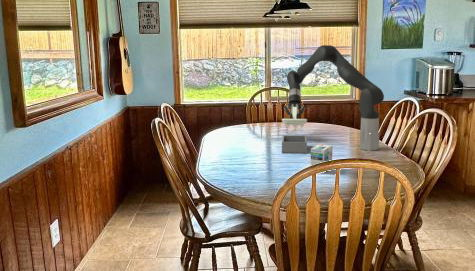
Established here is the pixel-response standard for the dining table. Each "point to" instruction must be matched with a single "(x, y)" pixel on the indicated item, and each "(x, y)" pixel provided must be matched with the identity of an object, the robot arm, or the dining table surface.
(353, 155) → the dining table surface
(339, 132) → the dining table surface
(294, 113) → the lid
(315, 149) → the light bulb box
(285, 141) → the tub
